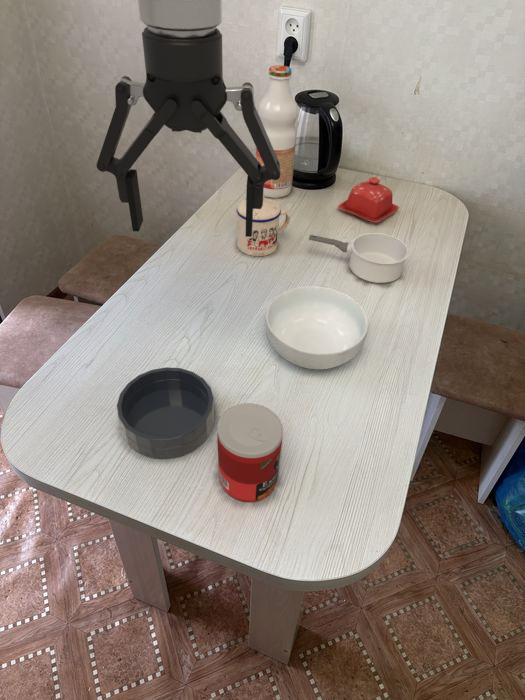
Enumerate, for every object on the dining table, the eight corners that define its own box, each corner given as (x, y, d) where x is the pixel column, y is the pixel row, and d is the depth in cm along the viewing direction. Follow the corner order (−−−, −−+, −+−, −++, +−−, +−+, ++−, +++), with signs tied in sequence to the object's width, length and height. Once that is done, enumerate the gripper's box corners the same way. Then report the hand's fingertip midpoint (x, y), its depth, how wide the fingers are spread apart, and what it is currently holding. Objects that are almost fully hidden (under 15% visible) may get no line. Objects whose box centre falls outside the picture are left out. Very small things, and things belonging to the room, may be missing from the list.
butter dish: (360, 195, 128) (366, 163, 122) (400, 211, 123) (408, 178, 117) (334, 211, 121) (339, 177, 116) (375, 229, 116) (383, 194, 110)
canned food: (267, 512, 64) (271, 463, 56) (209, 492, 66) (206, 442, 58) (285, 464, 69) (291, 413, 62) (230, 447, 71) (230, 395, 63)
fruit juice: (289, 200, 124) (299, 76, 105) (251, 196, 125) (255, 72, 106) (293, 183, 131) (304, 64, 112) (257, 179, 132) (262, 60, 113)
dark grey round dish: (112, 457, 69) (107, 437, 66) (132, 385, 78) (128, 365, 75) (209, 461, 69) (208, 441, 66) (217, 389, 79) (216, 369, 76)
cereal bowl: (259, 317, 92) (261, 285, 87) (348, 314, 93) (355, 283, 88) (269, 386, 80) (271, 354, 75) (371, 382, 81) (380, 350, 76)
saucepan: (311, 245, 110) (314, 222, 106) (404, 260, 107) (410, 237, 103) (301, 274, 102) (304, 250, 98) (401, 292, 99) (408, 268, 95)
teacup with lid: (246, 261, 104) (247, 210, 96) (229, 239, 110) (229, 189, 102) (297, 250, 108) (302, 199, 100) (278, 229, 114) (282, 180, 106)
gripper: (312, 25, 50) (294, 217, 65) (60, 11, 50) (99, 208, 64) (317, 44, 45) (295, 249, 59) (34, 28, 44) (83, 239, 59)
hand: (193, 228), depth 62 cm, fingers open, 13 cm apart
